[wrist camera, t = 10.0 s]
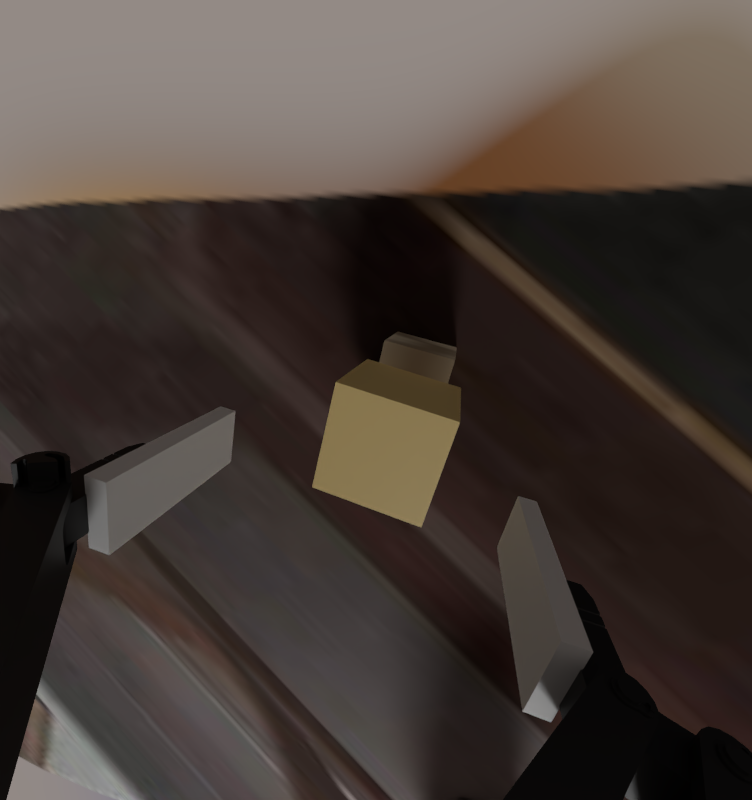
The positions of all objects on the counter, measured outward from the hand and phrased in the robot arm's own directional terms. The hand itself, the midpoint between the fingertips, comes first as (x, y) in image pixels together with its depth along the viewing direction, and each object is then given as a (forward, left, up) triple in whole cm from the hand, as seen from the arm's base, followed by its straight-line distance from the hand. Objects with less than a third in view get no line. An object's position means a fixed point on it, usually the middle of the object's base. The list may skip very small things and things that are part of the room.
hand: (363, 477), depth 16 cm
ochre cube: (0, 0, -8) cm, 8 cm away
